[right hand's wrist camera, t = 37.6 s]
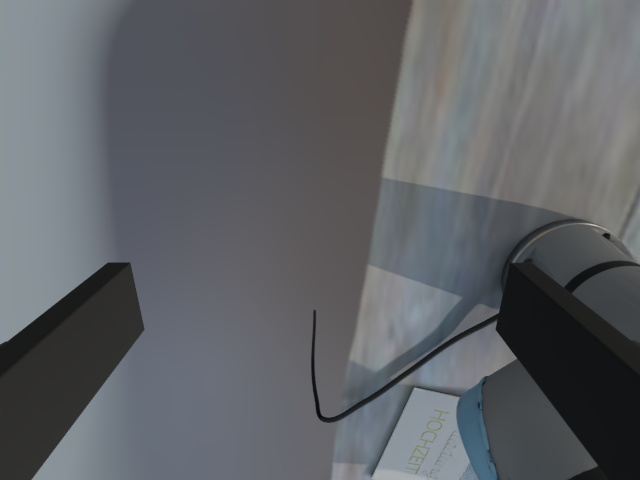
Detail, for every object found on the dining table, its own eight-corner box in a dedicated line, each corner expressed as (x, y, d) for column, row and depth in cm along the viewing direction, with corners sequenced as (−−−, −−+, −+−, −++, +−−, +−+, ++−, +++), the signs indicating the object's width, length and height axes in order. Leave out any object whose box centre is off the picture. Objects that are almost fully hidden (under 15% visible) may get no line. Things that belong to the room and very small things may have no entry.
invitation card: (414, 388, 56) (503, 407, 58) (414, 387, 57) (502, 406, 58) (371, 479, 64) (450, 494, 65) (371, 477, 64) (450, 492, 66)
